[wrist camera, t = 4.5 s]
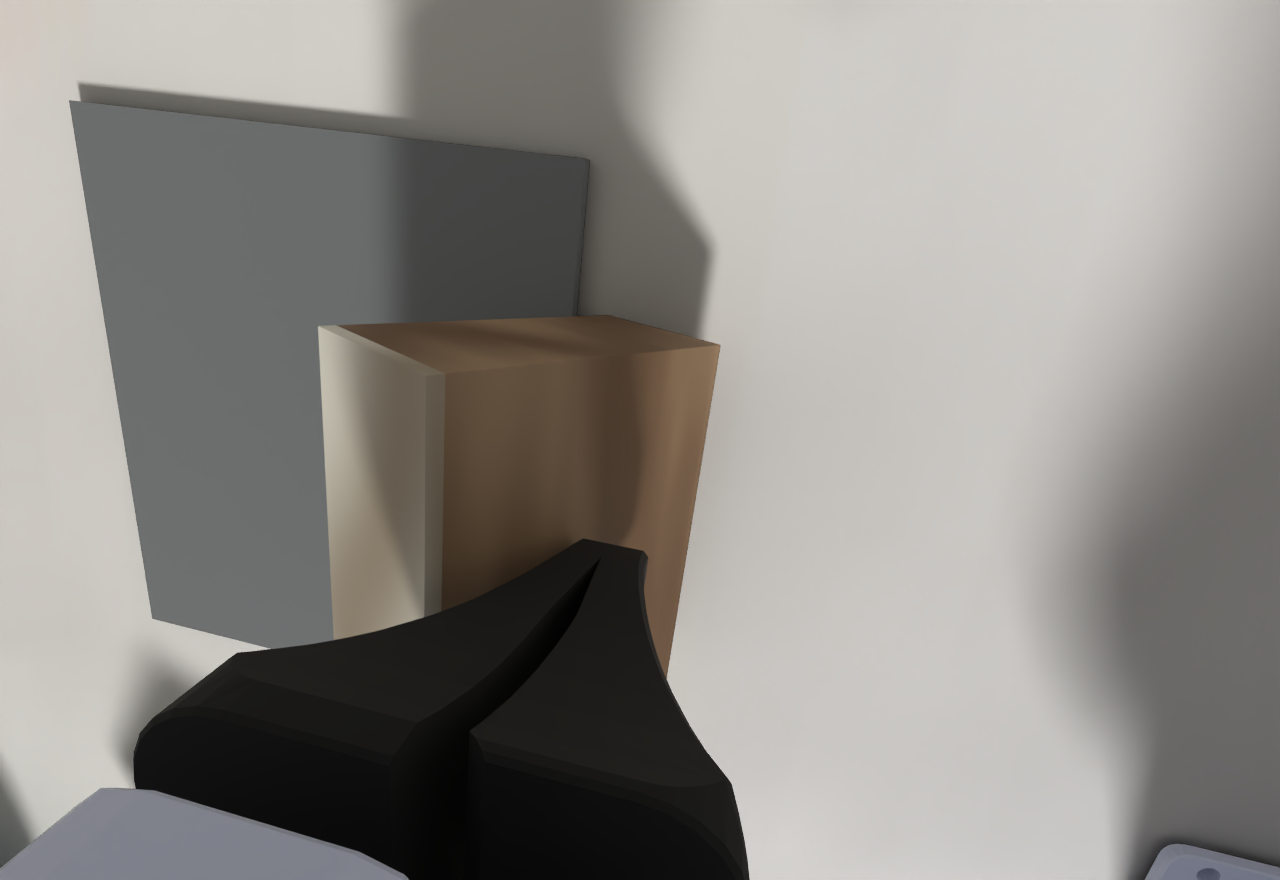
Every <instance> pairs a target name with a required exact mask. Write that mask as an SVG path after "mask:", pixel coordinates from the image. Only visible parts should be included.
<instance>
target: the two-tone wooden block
mask: <svg viewBox="0 0 1280 880" xmlns="http://www.w3.org/2000/svg"><path fill="white" fill-rule="evenodd" d="M318 337H319V357H320V377H321V397H322V416H323V436H324V456H325V476H326V496H327V515H328V535H329V555H330V575H331V594H332V614H333V634H334V640H337V639H342V638H347V637H352V636H357V635H361V634H365V633H370V632H374V631H378V630H382V629H386V628H389V627H393V626H396V625H400V624H403V623H406V622H410V621H413V620H416V619H420V618H423V617H427V616H430V615H433V614H436V613H439V612H441V611H444V610H446V609H449V608H452V607H454V606H457V605H460V604H462V603H464V602H467V601H469V600H472V599H474V598H476V597H478V596H481V595H483V594H485V593H487V592H489V591H491V590H493V589H495V588H497V587H499V586H501V585H503V584H505V583H507V582H509V581H511V580H513V579H514V578H516V577H518V576H520V575H522V574H524V573H526V572H527V571H529V570H531V569H533V568H534V567H536V566H538V565H539V564H541V563H543V562H545V561H546V560H548V559H550V558H551V557H553V556H555V555H556V554H558V553H559V552H561V551H563V550H564V549H566V548H568V547H569V546H571V545H572V544H574V543H576V542H577V541H579V540H581V539H583V538H584V539H589V540H594V541H599V542H603V543H608V544H613V545H618V546H623V547H628V548H632V549H637V550H642V551H644V552H645V553H646V555H647V556H648V564H647V572H646V579H645V586H644V595H645V603H646V610H647V616H648V622H649V626H650V630H651V634H652V639H653V642H654V646H655V649H656V652H657V655H658V658H659V661H660V664H661V667H662V669H663V672H664V675H665V677H666V678H667V672H668V666H669V660H670V654H671V647H672V641H673V635H674V629H675V623H676V617H677V610H678V604H679V598H680V592H681V586H682V580H683V573H684V567H685V561H686V555H687V549H688V543H689V536H690V530H691V524H692V518H693V512H694V506H695V499H696V493H697V487H698V481H699V475H700V469H701V463H702V456H703V450H704V444H705V438H706V432H707V426H708V419H709V413H710V407H711V401H712V395H713V389H714V382H715V376H716V370H717V364H718V358H719V352H720V345H719V344H715V343H711V342H707V341H704V340H700V339H696V338H692V337H689V336H685V335H681V334H677V333H673V332H670V331H666V330H662V329H658V328H654V327H651V326H647V325H643V324H639V323H635V322H632V321H628V320H624V319H620V318H616V317H613V316H608V315H599V316H571V317H544V318H517V319H490V320H463V321H436V322H409V323H382V324H355V325H327V326H318Z"/></svg>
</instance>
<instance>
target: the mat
mask: <svg viewBox="0 0 1280 880" xmlns="http://www.w3.org/2000/svg"><path fill="white" fill-rule="evenodd" d="M69 103H70V109H71V115H72V121H73V128H74V134H75V140H76V146H77V153H78V159H79V165H80V171H81V177H82V184H83V190H84V196H85V202H86V209H87V215H88V221H89V227H90V233H91V240H92V246H93V252H94V258H95V265H96V271H97V277H98V283H99V289H100V296H101V302H102V308H103V314H104V321H105V327H106V333H107V339H108V345H109V352H110V358H111V364H112V370H113V377H114V383H115V389H116V395H117V401H118V408H119V414H120V420H121V426H122V432H123V439H124V445H125V451H126V457H127V464H128V470H129V476H130V482H131V488H132V495H133V501H134V507H135V513H136V520H137V526H138V532H139V538H140V544H141V551H142V557H143V563H144V569H145V576H146V582H147V588H148V594H149V600H150V607H151V613H152V619H156V620H160V621H164V622H168V623H172V624H176V625H180V626H184V627H188V628H192V629H195V630H199V631H203V632H207V633H211V634H215V635H219V636H223V637H227V638H231V639H235V640H239V641H243V642H247V643H251V644H255V645H259V646H263V647H267V648H271V649H277V648H285V647H293V646H301V645H308V644H314V643H320V642H326V641H331V640H334V634H333V614H332V594H331V575H330V555H329V535H328V515H327V496H326V476H325V456H324V436H323V416H322V397H321V377H320V357H319V337H318V326H327V325H355V324H382V323H409V322H436V321H463V320H490V319H517V318H544V317H571V316H577V304H578V293H579V281H580V269H581V257H582V246H583V234H584V222H585V210H586V198H587V187H588V175H589V163H590V160H587V159H585V158H576V157H567V156H558V155H549V154H541V153H532V152H523V151H514V150H505V149H496V148H487V147H478V146H470V145H461V144H452V143H443V142H434V141H425V140H416V139H408V138H399V137H390V136H381V135H372V134H363V133H354V132H345V131H337V130H328V129H319V128H310V127H301V126H292V125H283V124H274V123H266V122H257V121H248V120H239V119H230V118H221V117H212V116H203V115H195V114H186V113H177V112H168V111H159V110H150V109H141V108H132V107H124V106H115V105H106V104H97V103H88V102H79V101H70V100H69Z"/></svg>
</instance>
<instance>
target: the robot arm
mask: <svg viewBox="0 0 1280 880" xmlns="http://www.w3.org/2000/svg"><path fill="white" fill-rule="evenodd" d="M647 564H648V556H647V555H646V553H645V552H644V551H642V550H637V549H632V548H628V547H623V546H618V545H613V544H608V543H603V542H599V541H594V540H589V539H584V538H583V539H581V540H579V541H577V542H576V543H574V544H572V545H571V546H569V547H568V548H566V549H564V550H563V551H561V552H559V553H558V554H556V555H555V556H553V557H551V558H550V559H548V560H546V561H545V562H543V563H541V564H539V565H538V566H536V567H534V568H533V569H531V570H529V571H527V572H526V573H524V574H522V575H520V576H518V577H516V578H514V579H513V580H511V581H509V582H507V583H505V584H503V585H501V586H499V587H497V588H495V589H493V590H491V591H489V592H487V593H485V594H483V595H481V596H478V597H476V598H474V599H472V600H469V601H467V602H464V603H462V604H460V605H457V606H454V607H452V608H449V609H446V610H444V611H441V612H439V613H436V614H433V615H430V616H427V617H423V618H420V619H416V620H413V621H410V622H406V623H403V624H400V625H396V626H393V627H389V628H386V629H382V630H378V631H374V632H370V633H365V634H361V635H357V636H352V637H347V638H342V639H337V640H331V641H326V642H320V643H314V644H308V645H301V646H293V647H285V648H277V649H268V650H260V651H252V652H241V653H236V654H235V655H234V656H232V657H231V658H230V659H228V660H227V661H226V662H224V663H223V664H222V665H220V666H219V667H218V668H217V669H215V670H214V671H213V672H211V673H210V674H209V675H208V676H206V677H205V678H204V679H202V680H201V681H200V682H199V683H197V684H196V685H195V686H193V687H192V688H191V689H190V690H188V691H187V692H186V693H184V694H183V695H182V696H181V697H179V698H178V699H177V700H175V701H174V702H173V703H172V704H170V705H169V706H168V707H166V708H165V709H164V710H163V711H161V712H160V713H159V714H157V715H156V716H155V717H154V718H153V719H152V720H151V721H150V722H149V723H148V724H147V725H146V727H145V728H144V729H143V730H142V731H141V732H140V734H139V738H138V741H137V744H136V747H135V750H134V758H133V762H134V782H135V787H136V789H126V788H100V789H99V790H98V791H96V792H95V793H93V794H92V795H91V796H89V797H88V798H87V799H85V800H84V801H82V802H81V803H80V804H78V805H77V806H76V807H74V808H73V809H72V810H71V811H69V812H68V813H67V814H66V815H65V816H63V817H62V818H61V819H60V820H58V821H57V822H56V823H55V824H54V825H52V826H51V827H50V828H49V829H47V830H46V831H45V832H44V833H43V834H41V835H40V836H39V837H38V838H36V839H35V840H34V841H33V842H32V843H30V844H29V845H28V846H27V847H25V848H24V849H23V850H22V851H21V852H19V853H18V854H17V855H16V856H14V857H13V858H12V859H11V860H10V861H8V862H7V863H6V864H5V865H4V866H2V867H1V868H0V880H749V870H748V861H747V854H746V848H745V841H744V836H743V831H742V826H741V822H740V817H739V812H738V808H737V804H736V800H735V796H734V792H733V788H732V784H731V782H730V781H729V780H728V778H727V777H726V776H725V774H724V773H723V772H722V771H721V769H720V768H719V767H718V766H717V764H716V763H715V762H714V761H713V759H712V758H711V757H710V756H709V754H708V753H707V752H706V750H705V749H704V747H703V746H702V744H701V743H700V741H699V740H698V738H697V736H696V735H695V733H694V732H693V730H692V729H691V727H690V725H689V723H688V722H687V720H686V718H685V716H684V714H683V712H682V710H681V708H680V706H679V705H678V703H677V701H676V699H675V697H674V695H673V693H672V691H671V689H670V686H669V684H668V682H667V679H666V677H665V675H664V672H663V669H662V667H661V664H660V661H659V658H658V655H657V652H656V649H655V646H654V642H653V639H652V634H651V630H650V626H649V622H648V616H647V610H646V603H645V595H644V586H645V579H646V572H647ZM1145 880H1280V867H1276V866H1272V865H1268V864H1264V863H1260V862H1255V861H1251V860H1247V859H1243V858H1239V857H1235V856H1231V855H1227V854H1223V853H1219V852H1215V851H1211V850H1206V849H1202V848H1198V847H1194V846H1190V845H1186V844H1172V845H1168V846H1166V847H1164V848H1163V849H1162V850H1161V851H1160V853H1159V854H1158V856H1157V858H1156V860H1155V862H1154V863H1153V865H1152V867H1151V869H1150V871H1149V873H1148V875H1147V876H1146V878H1145Z"/></svg>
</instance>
